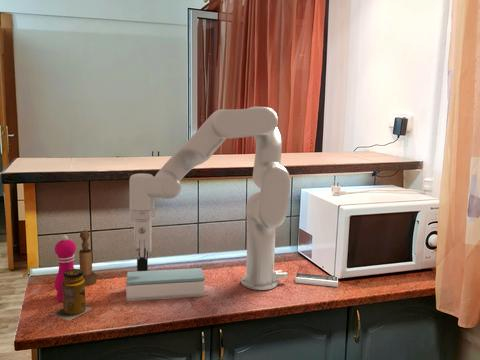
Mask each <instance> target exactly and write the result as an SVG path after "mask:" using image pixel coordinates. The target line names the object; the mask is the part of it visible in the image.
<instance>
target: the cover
mask: <svg viewBox="0 0 480 360" xmlns="http://www.w3.org/2000/svg"><path fill="white" fill-rule="evenodd" d="M205 278H206V277H205V274H204V271H203V269H202V267H197V268H196V267H195V268H194V267H193V268H177V269H158V270H154V269H153V270H147V271H137V270H136V271H127V275H126V282H125V285H132V284H149V283H167V282H184V281H202V280H204V281H205V280H206V279H205Z"/></svg>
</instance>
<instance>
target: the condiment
mask: <svg viewBox="0 0 480 360" xmlns="http://www.w3.org/2000/svg"><path fill="white" fill-rule="evenodd" d="M63 276H64V278H63V282H62V289H63V302H62V307H63V308H61V309H59V310H57V311H55V312H53V313H51V316H53V317H56V318H59V319H61V320H66V321H68V322H70V321H72V320H74V319H75V318H76V319H77V318H78V317H80V316H82V315H83V314H85V313H87V312H89V311H91V310H92V309H93V307H89V306H86V286H85V280H84V279H83V271H82V270H80V268H74V269H71V270H67V271H65V272H64V274H63Z"/></svg>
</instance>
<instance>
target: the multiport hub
mask: <svg viewBox="0 0 480 360" xmlns="http://www.w3.org/2000/svg"><path fill="white" fill-rule="evenodd" d="M294 279H295V281H294V282H295V284H306V285H315V286H316V285H317V286H324V287H332V288H333V287H335V288H338V287H339V279H338V276H333V275H332V276H331V275H321V274H311V273H300V272H296V273H295V278H294Z"/></svg>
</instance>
